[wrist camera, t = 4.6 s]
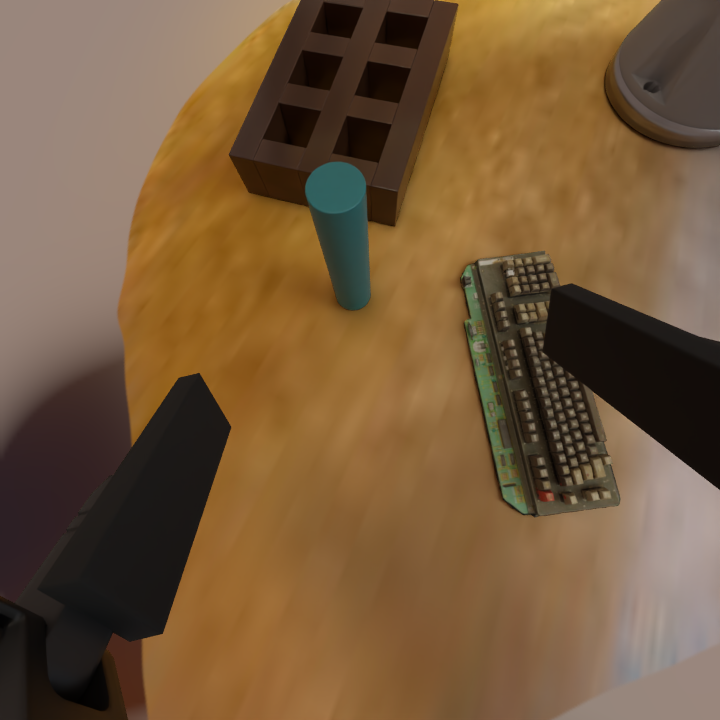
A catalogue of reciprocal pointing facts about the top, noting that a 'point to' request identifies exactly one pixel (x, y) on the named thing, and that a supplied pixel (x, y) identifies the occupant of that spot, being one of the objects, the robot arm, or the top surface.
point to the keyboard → (532, 393)
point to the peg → (342, 229)
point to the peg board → (347, 98)
